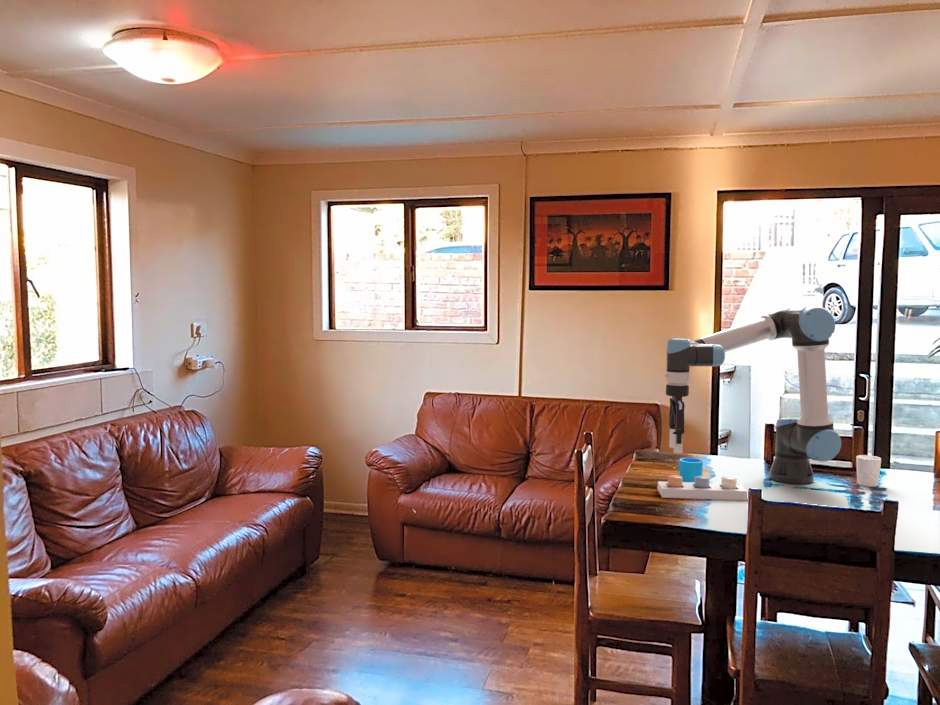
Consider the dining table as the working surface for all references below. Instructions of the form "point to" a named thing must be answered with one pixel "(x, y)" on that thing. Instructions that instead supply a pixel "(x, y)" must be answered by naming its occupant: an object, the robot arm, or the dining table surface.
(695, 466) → the mug
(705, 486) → the button slate
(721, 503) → the dining table surface
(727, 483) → the button cream
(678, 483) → the button terracotta
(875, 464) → the white cup
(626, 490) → the dining table surface
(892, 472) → the dining table surface
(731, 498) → the button panel
